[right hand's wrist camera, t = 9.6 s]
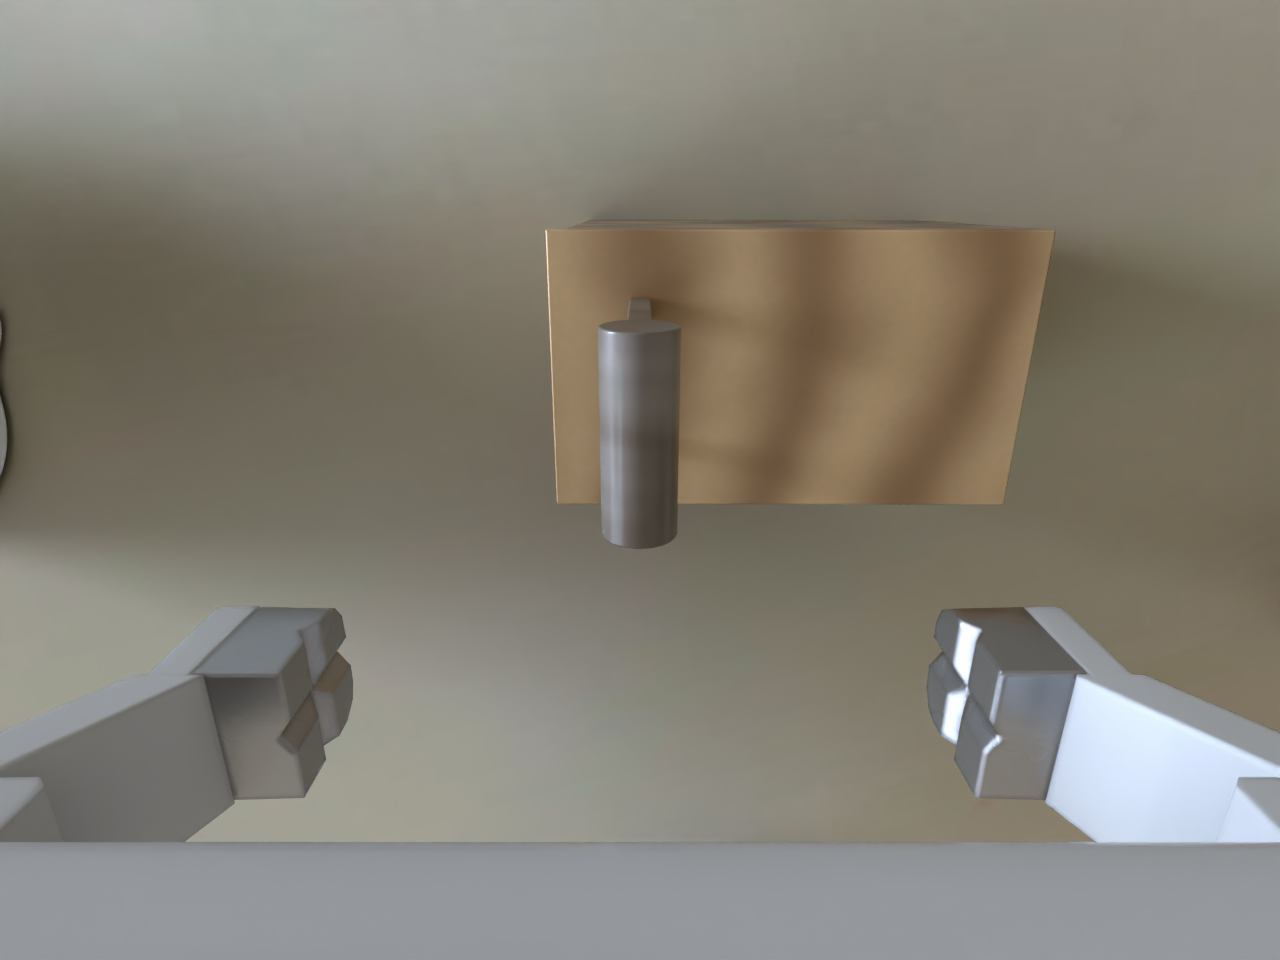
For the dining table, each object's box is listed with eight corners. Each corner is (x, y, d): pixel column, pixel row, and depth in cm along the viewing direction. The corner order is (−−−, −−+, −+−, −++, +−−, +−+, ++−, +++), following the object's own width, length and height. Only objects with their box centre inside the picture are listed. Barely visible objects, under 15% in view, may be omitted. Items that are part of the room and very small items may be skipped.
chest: (591, 417, 38) (573, 494, 28) (587, 220, 35) (565, 228, 25) (900, 417, 38) (992, 495, 28) (926, 221, 35) (1041, 229, 25)
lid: (558, 495, 28) (525, 615, 20) (548, 228, 25) (502, 242, 17) (993, 496, 28) (1136, 617, 20) (1042, 229, 25) (1239, 244, 16)
